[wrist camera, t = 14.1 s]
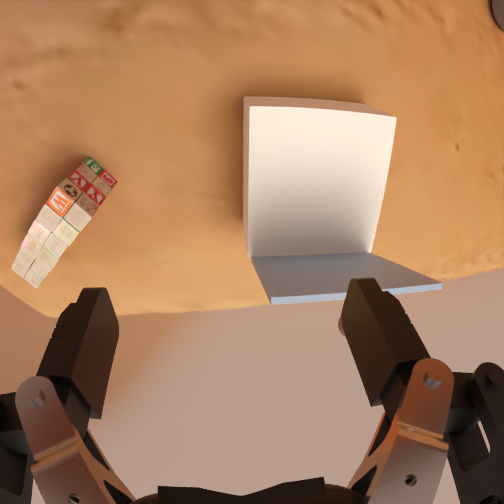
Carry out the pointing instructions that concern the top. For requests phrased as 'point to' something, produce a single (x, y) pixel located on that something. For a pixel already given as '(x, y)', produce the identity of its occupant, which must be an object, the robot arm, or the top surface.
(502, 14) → the smart speaker
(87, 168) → the stack of blocks
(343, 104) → the carton
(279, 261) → the box lid
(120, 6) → the top surface
